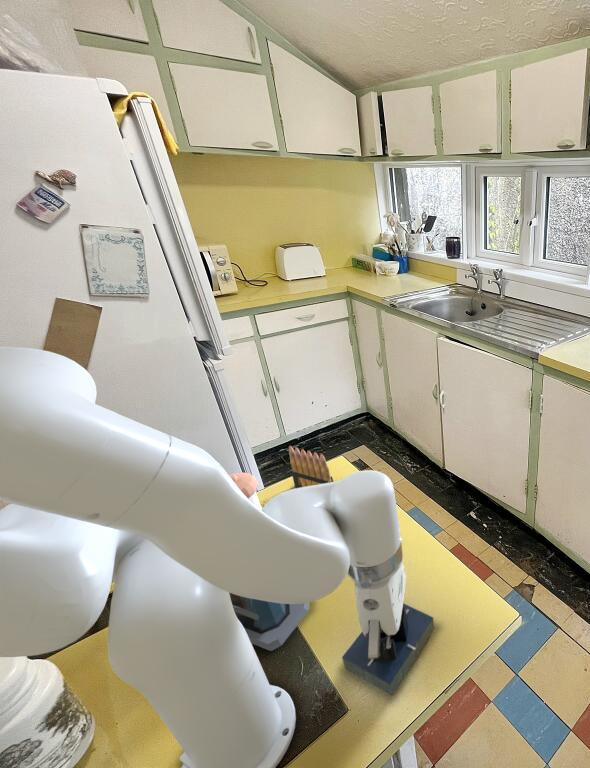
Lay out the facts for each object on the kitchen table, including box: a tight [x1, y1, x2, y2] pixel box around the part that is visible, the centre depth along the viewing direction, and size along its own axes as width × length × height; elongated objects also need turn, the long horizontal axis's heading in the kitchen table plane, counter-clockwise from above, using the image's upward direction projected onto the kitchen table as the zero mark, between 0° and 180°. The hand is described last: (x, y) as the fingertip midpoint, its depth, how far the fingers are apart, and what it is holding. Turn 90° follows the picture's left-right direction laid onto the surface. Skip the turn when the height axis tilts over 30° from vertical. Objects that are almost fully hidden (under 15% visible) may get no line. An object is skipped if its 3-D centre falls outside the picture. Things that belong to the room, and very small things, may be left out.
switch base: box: [341, 602, 435, 696], centre depth 65 cm, size 11×10×3 cm
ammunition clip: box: [288, 445, 334, 489], centre depth 95 cm, size 11×2×12 cm, turn 71°
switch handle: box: [368, 608, 408, 643], centre depth 63 cm, size 6×2×5 cm, turn 96°
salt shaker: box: [228, 472, 263, 510], centre depth 78 cm, size 7×7×19 cm
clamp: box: [229, 592, 311, 652], centre depth 68 cm, size 35×9×21 cm, turn 73°
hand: (389, 633), depth 64 cm, fingers open, 6 cm apart
